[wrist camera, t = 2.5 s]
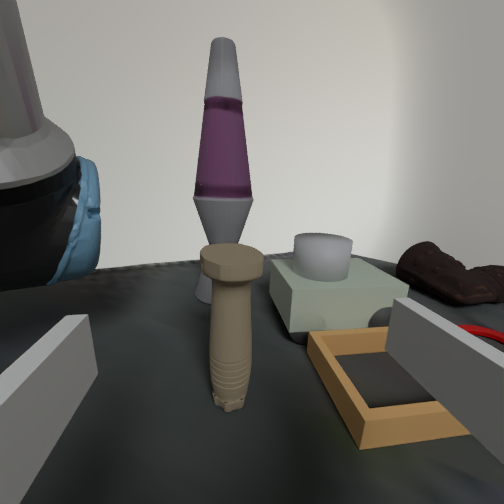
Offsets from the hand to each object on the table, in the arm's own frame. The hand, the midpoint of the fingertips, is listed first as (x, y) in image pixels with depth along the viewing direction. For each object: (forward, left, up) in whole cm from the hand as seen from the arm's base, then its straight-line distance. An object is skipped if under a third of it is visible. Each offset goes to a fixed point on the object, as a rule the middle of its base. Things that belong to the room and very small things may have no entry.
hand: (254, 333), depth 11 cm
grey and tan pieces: (+9, +21, -14) cm, 27 cm away
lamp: (-12, +32, -15) cm, 38 cm away
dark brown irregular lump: (+32, +44, -15) cm, 57 cm away
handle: (-4, +9, -15) cm, 18 cm away
